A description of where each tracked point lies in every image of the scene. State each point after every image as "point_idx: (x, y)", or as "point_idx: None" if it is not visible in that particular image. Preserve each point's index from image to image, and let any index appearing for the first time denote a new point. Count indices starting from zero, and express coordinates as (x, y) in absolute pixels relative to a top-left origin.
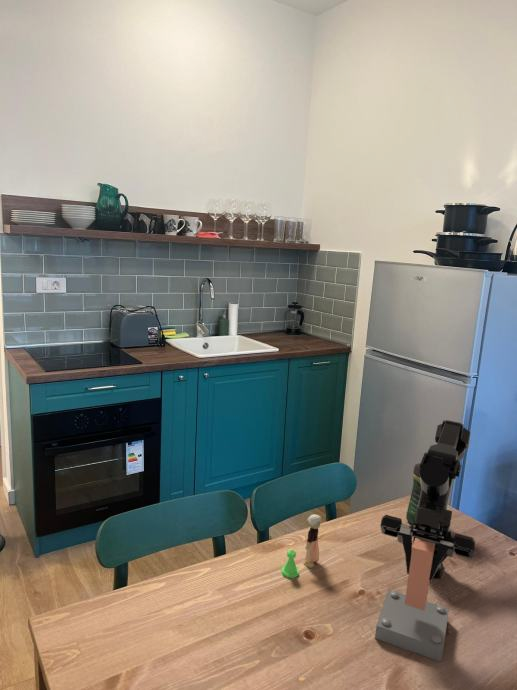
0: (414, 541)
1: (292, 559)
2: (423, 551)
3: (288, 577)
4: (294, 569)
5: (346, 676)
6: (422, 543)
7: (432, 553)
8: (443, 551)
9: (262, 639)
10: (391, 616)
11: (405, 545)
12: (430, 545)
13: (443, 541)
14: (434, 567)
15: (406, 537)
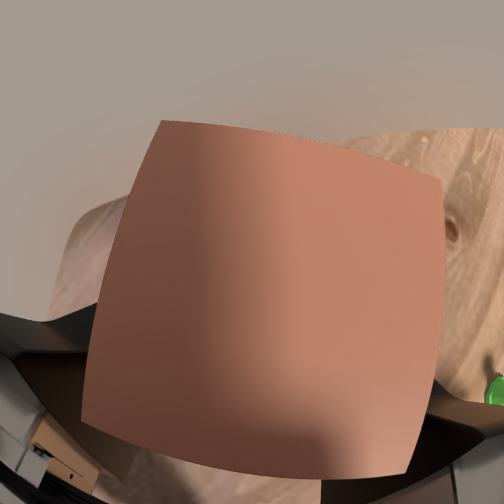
0: (434, 360)
1: None
2: (293, 145)
3: (497, 377)
4: (499, 392)
5: (373, 149)
6: (309, 360)
7: (169, 123)
8: (34, 328)
9: (488, 201)
10: None
11: (435, 392)
12: (157, 330)
13: (12, 460)
14: None
15: (492, 414)
